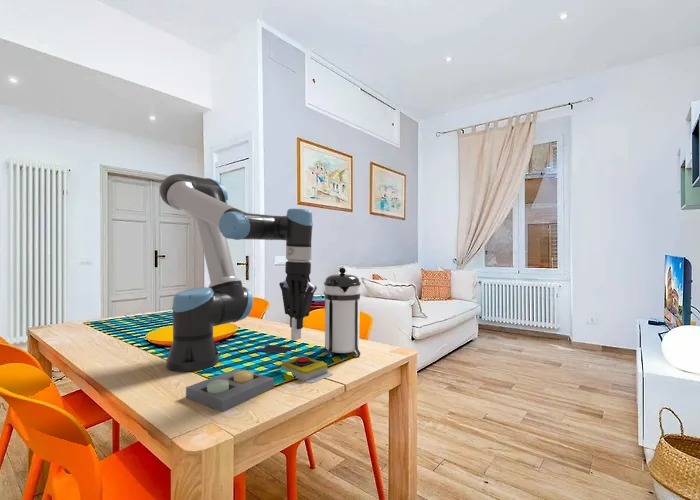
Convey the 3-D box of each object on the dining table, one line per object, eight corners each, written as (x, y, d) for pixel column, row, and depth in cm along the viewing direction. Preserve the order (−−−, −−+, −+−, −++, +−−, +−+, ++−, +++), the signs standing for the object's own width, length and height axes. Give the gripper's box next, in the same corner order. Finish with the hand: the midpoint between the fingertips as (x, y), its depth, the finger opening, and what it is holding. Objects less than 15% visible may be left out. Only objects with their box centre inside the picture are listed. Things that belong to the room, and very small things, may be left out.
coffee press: (373, 351, 126) (374, 267, 126) (343, 362, 114) (343, 269, 114) (338, 342, 138) (338, 265, 137) (307, 351, 126) (307, 267, 125)
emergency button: (300, 351, 114) (334, 361, 104) (300, 364, 114) (334, 376, 104) (276, 357, 107) (310, 369, 97) (276, 372, 107) (310, 385, 97)
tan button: (229, 385, 94) (229, 374, 94) (244, 379, 98) (244, 369, 98) (242, 390, 91) (242, 378, 91) (257, 383, 95) (257, 372, 95)
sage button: (202, 396, 87) (202, 384, 87) (220, 389, 91) (220, 378, 91) (215, 401, 84) (215, 389, 84) (232, 394, 88) (233, 382, 88)
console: (186, 397, 88) (186, 387, 88) (238, 377, 101) (238, 368, 101) (222, 411, 80) (222, 400, 80) (273, 387, 94) (273, 378, 94)
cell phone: (266, 346, 133) (266, 344, 133) (299, 350, 128) (299, 348, 128) (254, 351, 126) (254, 349, 126) (288, 356, 122) (288, 354, 122)
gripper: (273, 259, 106) (271, 337, 107) (307, 263, 99) (304, 346, 100) (290, 259, 113) (288, 332, 114) (323, 261, 106) (320, 340, 107)
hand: (295, 338), depth 107 cm, fingers closed
